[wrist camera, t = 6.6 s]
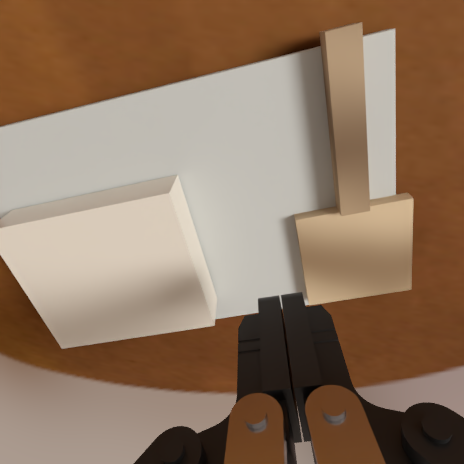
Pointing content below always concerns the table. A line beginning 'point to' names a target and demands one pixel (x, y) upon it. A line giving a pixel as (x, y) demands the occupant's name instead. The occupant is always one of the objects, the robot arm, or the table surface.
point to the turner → (352, 194)
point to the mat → (216, 159)
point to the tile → (111, 263)
